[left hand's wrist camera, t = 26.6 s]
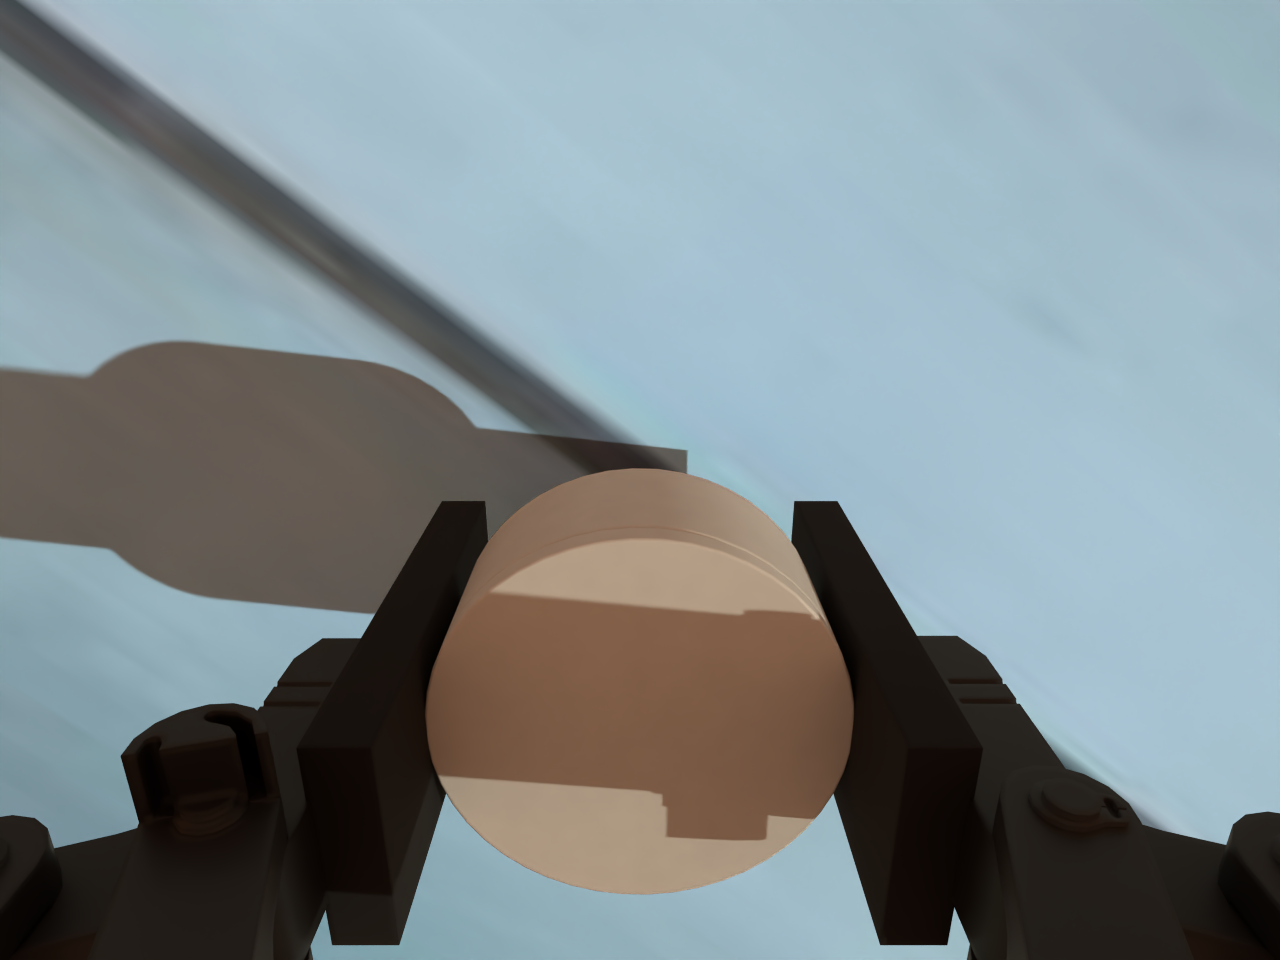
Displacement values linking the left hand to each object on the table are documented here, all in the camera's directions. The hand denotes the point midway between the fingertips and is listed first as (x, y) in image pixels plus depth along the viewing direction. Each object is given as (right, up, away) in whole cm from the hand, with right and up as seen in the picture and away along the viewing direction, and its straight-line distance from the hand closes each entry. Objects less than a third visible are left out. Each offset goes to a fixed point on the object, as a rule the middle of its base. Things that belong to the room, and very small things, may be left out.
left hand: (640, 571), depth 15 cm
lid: (0, -1, -4) cm, 4 cm away
